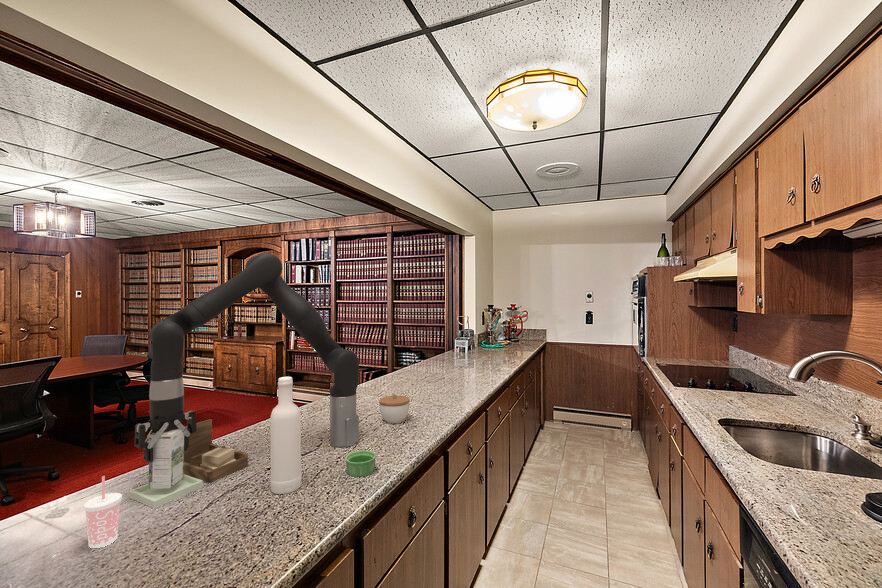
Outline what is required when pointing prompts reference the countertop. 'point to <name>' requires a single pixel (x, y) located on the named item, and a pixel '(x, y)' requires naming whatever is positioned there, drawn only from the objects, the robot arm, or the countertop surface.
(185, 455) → the open box
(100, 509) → the beverage cup
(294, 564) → the countertop surface
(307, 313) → the robot arm
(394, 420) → the white lidded bowl
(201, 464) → the offcut low
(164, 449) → the syrup box
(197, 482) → the tray
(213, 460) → the offcut top
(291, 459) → the bottle
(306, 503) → the countertop surface
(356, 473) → the ramekin
